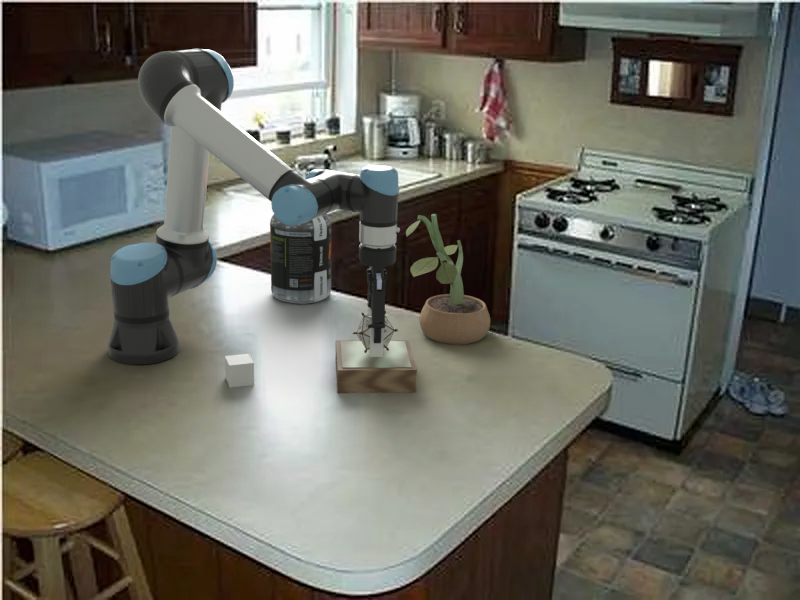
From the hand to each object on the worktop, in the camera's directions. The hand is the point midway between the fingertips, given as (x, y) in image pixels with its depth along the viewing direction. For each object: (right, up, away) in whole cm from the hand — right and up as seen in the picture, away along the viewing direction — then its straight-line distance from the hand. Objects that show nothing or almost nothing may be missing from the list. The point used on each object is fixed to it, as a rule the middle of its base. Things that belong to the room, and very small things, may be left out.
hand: (374, 346), depth 189 cm
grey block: (-28, -7, -2) cm, 29 cm away
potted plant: (+16, +1, +27) cm, 31 cm away
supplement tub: (-21, +11, +50) cm, 55 cm away
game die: (0, -1, 0) cm, 1 cm away
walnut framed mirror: (0, -6, +2) cm, 7 cm away
